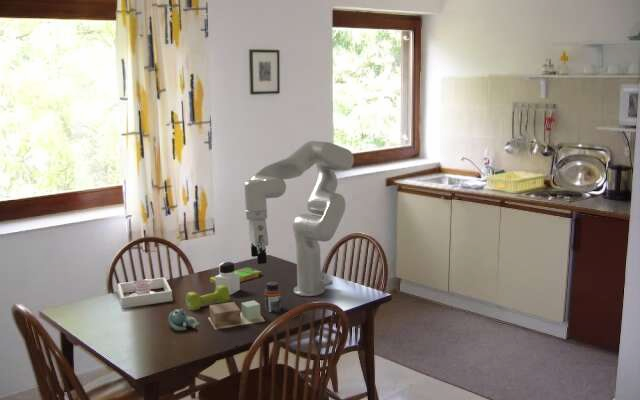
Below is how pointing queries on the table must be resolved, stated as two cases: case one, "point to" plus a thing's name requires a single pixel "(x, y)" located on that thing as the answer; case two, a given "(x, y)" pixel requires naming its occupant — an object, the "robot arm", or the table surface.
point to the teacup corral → (145, 298)
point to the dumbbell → (207, 297)
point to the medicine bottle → (228, 277)
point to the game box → (243, 274)
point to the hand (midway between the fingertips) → (258, 259)
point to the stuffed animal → (181, 320)
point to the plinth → (228, 316)
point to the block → (251, 310)
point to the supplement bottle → (272, 297)
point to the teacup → (142, 287)
